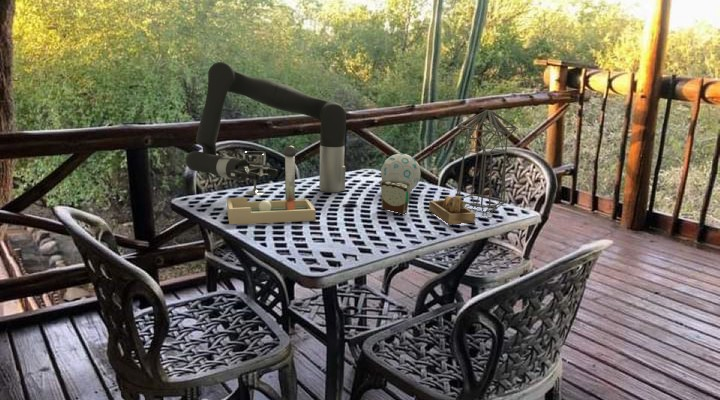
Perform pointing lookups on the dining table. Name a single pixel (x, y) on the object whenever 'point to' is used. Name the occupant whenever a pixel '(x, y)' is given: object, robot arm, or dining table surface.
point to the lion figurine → (453, 204)
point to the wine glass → (255, 159)
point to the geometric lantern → (491, 119)
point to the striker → (290, 177)
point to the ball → (264, 205)
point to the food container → (395, 195)
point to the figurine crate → (458, 218)
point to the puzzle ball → (401, 169)
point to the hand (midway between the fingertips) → (268, 175)
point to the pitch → (267, 212)
